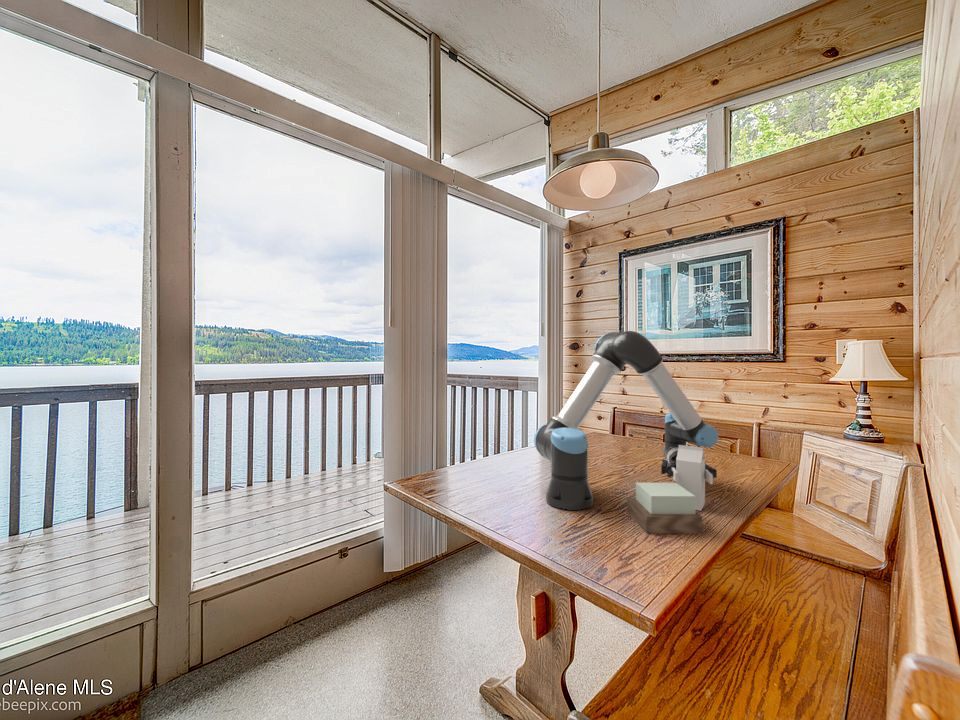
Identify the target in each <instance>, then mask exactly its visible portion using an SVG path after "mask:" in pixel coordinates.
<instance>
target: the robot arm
mask: <svg viewBox="0 0 960 720" xmlns="http://www.w3.org/2000/svg"><path fill="white" fill-rule="evenodd" d="M591 359H592V363H591V365H590V366H589V368H588V369H587V371H586V373H585V374H584V375H583V377H582V379H580V382H579V383H578V384H577V385H576V387H575V389H574V390H573V392H572V393H571V395H570V396H569V397H568V399H567V401H566V402H565V404H564V405H563V407H562V409H561V410H560V411H559V413H558V414H557V415H554V416H551V417H550V418H549V420H548V421H547V423H546V424H543V425H542V426H540V427H539V428H538V429H537V430H536V431H535V434H534V437H533V444H534V447H535V449H536V451H537V452H538V453H539V454H540V456H542V457H543V458H544V459H547V460H548V461H550V462H551V463H550V474H551V477H550V480H549V484H548V487H547V489H546V493H545V502H546V501H547V502H546V503H547V504H548V503H549V504H550V505H549V504H548V505H549V506H551V505H552V506H551V507H553V506H554V508H556V507H558V508H557V509H560V508H562V509H561V510H565V509H567V510H566V511H581V509H583V510H585V509H586V508H587V509H590V508H591V507H593V505H594V495H593V493H592V489H591V487H590V484H589V481H588V480H589V479H588V469H589V468H588V463H589V461H588V460H589V459H588V458H589V456H588V454H589V452H588V448H589V443H588V436H587V434H586V433H585V432H584V431H582V430H580V429H579V428H580V427H581V425H582V423H584V420H585V418H586V417H587V416H588V414H589V413H590V411H591V409H592V408H593V407H594V405H595V404H596V402H597V400H598V399H599V398H600V396H601V395H602V393H603V391H605V388H606V387H607V385H608V384H609V383H610V381H611V380H612V378H613V376H614V375H619V374H621V372H622V370H623V369H624V368H625V366H626V365H629V366H630V367H632V368H633V369H634V370H635V371H636V373H637V375H642V376H643V378H644V379H645V380H646V382H647V383H648V384H649V386H650V387H651V389H652V390H653V391H654V392H655V394H656V396H657V397H658V398H659V399H660V401H661V402H662V403H663V405H664V407H665V408H666V409H667V410H668V413H666V414H665V416H664V446H663V450H662V451H663V452H662V453H663V456H664V459H662V460H661V465H660V466H661V467H660V469H661V470H660V471H661V472H660V473H661V474H662V475H666V474H667V476H666V477H667V478H672V479H673V480H674V483H676V482H678V473H677V471H676V458H677V453H678V448H679V445H684V446H687V443H689V444H691V445H694V446H695V445H696V446H697V447H698V446H699V447H702V448H712V447H714V446H716V444H717V443H718V441H719V432H718V430H717V429H716V428H715V427H713V426H711V425H709V424H707V423H705V421H704V420H703V418H702V417H701V416H700V414H699V413H698V412H697V410H696V409H695V407H694V406H693V404H692V403H691V401H690V400H689V399H688V397H687V395H686V394H685V393H684V392H683V390H682V388H681V387H680V385H679V384H678V383H677V382H676V380H675V379H674V377H673V376H672V374H671V373H670V372H669V370H668V368H667V367H666V366H665V365H664V363H663V360H664V357H663V356H662V355H661V353H660V352H659V350H658V349H657V348H656V347H655V346H654V344H653V343H652V341H650V340H649V339H648V338H646V336H644V335H643V334H641V333H639V332H637V331H633V330H625V331H619V332H618V331H613V332H611V331H610V332H607V333H605V334H603V335H602V336H600V337H599V338H598V339H597V340H596V342H595V345H594V353H593V354H592V355H591ZM717 477H718V476H717V469H716V468H714V467H712V466H710V465H708V464H707V463H706V462H705V481H707V482H708V483H709V484H710V485H713V484H714V479H715V478H717ZM589 507H590V508H589Z"/></svg>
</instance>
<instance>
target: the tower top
mask: <svg viewBox="0 0 960 720" xmlns="http://www.w3.org/2000/svg"><path fill="white" fill-rule="evenodd" d="M635 497H636V500H637V501H638V502H639V503H640V504H641V505H642V506H643V507H644V508H645V509H646V510H647V511H649V512H650V513H651V514H695V512H696V510H695V496H694V495H693V494H691V493H690V492H689V491H687V490H686V489H684V488H683V487H681V486H680V485H678V484H677V483H676V482H635Z"/></svg>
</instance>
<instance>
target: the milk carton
mask: <svg viewBox="0 0 960 720" xmlns="http://www.w3.org/2000/svg"><path fill="white" fill-rule="evenodd" d="M705 463H706V455H705V452H704V447H702V446H699V447H698V446H693V445H692V446H691V445H686V446H684V445H679V448H678V453H677V458H676V471H677V473H678V482H675V483H677V484H678V485H680V486H681V487H683V488H684V489H686V490H687V491H689V492H690V493H691V494H693V495H694V496H695V511H699V512H701V511H702V509H704V506H705V505H706V479H705Z"/></svg>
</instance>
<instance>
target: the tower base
mask: <svg viewBox="0 0 960 720" xmlns="http://www.w3.org/2000/svg"><path fill="white" fill-rule="evenodd" d="M626 504H627V505H626V506H627V507H626V508H627V514H629V516H630V517H631V518H632V519H633V520H634V521H635V522H636V523H637V524H638V525H639V527H640V528H641V529H642V530H643V531H644V532H645V533H646V534H703V516H702V515H700V514H699V512H697V511H695V514H651V513H650V512H649V511H647V510H646V509H645V508H644V507H643V506H642V505H641V504H640V503H639V502H638V501H637V500H636V496H635V497H633V496H631V497H627V502H626Z"/></svg>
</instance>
